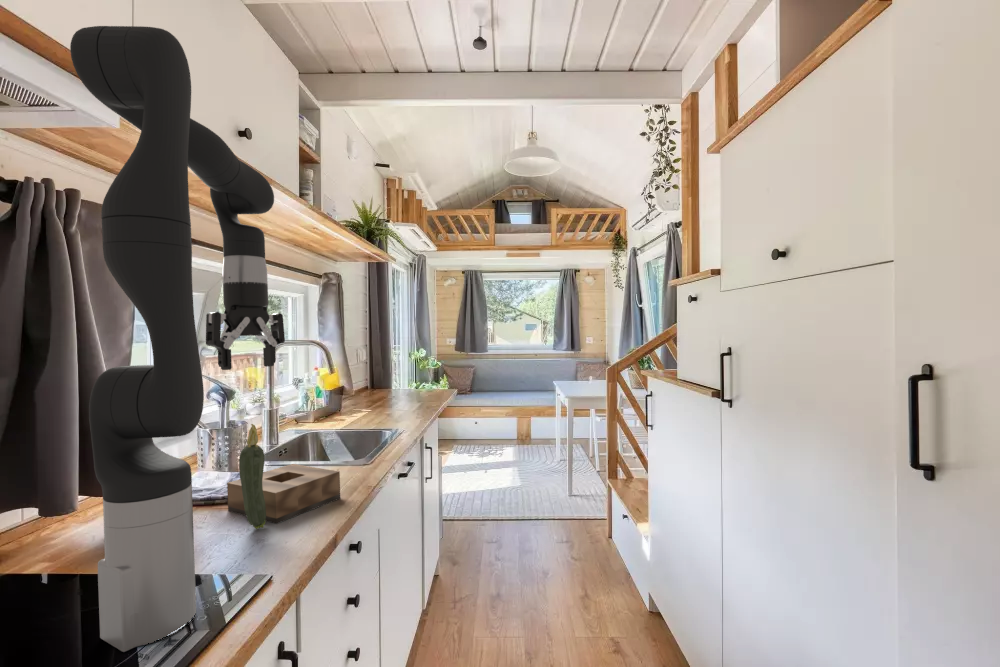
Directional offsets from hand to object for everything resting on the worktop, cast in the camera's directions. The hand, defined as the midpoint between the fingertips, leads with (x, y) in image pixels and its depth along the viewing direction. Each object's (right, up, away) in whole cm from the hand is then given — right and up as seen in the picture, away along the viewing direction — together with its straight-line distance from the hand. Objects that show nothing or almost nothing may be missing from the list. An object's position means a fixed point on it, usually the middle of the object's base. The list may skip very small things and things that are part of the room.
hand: (248, 368), depth 92 cm
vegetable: (+1, -31, 0) cm, 31 cm away
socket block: (+1, -31, +14) cm, 34 cm away
